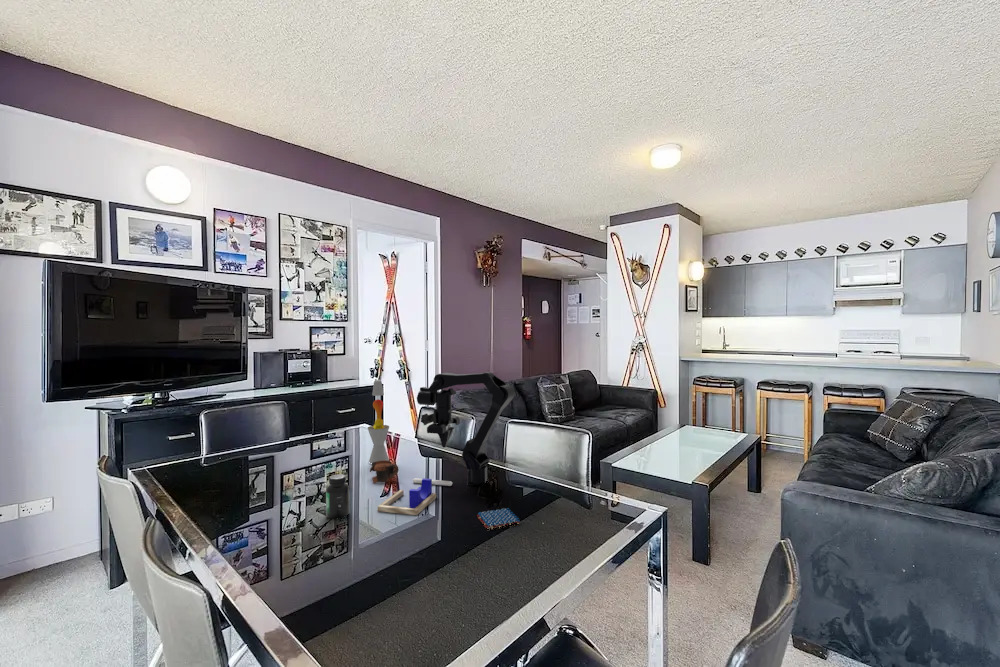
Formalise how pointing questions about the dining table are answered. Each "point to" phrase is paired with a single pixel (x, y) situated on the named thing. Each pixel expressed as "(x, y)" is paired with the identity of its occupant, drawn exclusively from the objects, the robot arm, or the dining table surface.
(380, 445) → the lava lamp
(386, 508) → the frame
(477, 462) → the robot arm
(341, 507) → the supplement bottle
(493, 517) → the woven mat
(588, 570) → the dining table surface
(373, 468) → the pottery mug
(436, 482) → the white peg
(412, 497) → the cable clip
